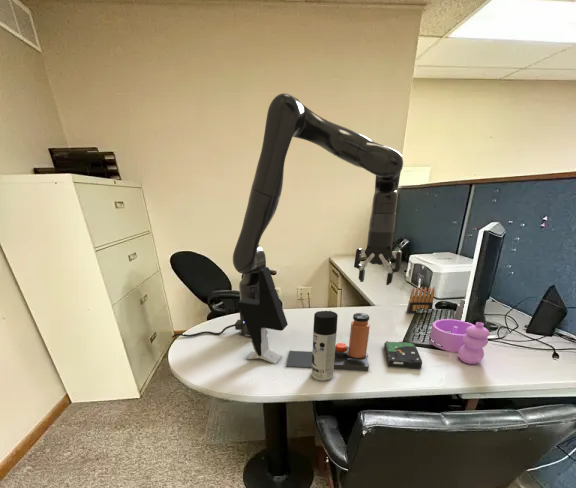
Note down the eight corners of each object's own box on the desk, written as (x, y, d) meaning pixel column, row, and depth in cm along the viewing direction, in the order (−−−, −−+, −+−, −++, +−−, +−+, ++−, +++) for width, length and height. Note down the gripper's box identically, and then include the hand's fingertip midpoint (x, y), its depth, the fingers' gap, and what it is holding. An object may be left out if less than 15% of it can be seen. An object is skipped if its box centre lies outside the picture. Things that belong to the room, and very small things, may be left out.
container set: (423, 334, 127) (430, 301, 120) (462, 334, 127) (472, 301, 120) (450, 366, 105) (460, 328, 99) (498, 366, 105) (511, 328, 98)
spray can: (310, 370, 103) (311, 310, 93) (331, 369, 104) (335, 309, 94) (313, 381, 97) (315, 318, 88) (335, 380, 98) (340, 317, 88)
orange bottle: (348, 357, 102) (352, 318, 96) (347, 349, 107) (351, 312, 101) (366, 358, 102) (371, 319, 95) (365, 350, 107) (369, 312, 100)
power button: (335, 352, 107) (335, 347, 107) (335, 347, 111) (335, 342, 110) (346, 352, 107) (347, 347, 106) (346, 347, 110) (346, 343, 109)
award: (288, 357, 111) (287, 268, 96) (283, 365, 107) (281, 272, 92) (247, 351, 115) (241, 264, 100) (241, 358, 111) (233, 268, 96)
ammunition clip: (429, 311, 149) (435, 285, 143) (431, 313, 148) (437, 287, 142) (406, 311, 149) (411, 285, 143) (407, 313, 148) (412, 287, 142)
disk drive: (421, 369, 103) (412, 348, 116) (423, 362, 102) (414, 341, 115) (388, 367, 105) (383, 347, 117) (389, 360, 103) (384, 340, 116)
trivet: (286, 367, 105) (286, 365, 105) (290, 351, 115) (290, 350, 115) (320, 368, 104) (320, 367, 104) (321, 353, 114) (321, 352, 113)
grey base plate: (323, 369, 104) (323, 359, 102) (324, 353, 114) (324, 344, 112) (368, 371, 103) (369, 361, 101) (364, 355, 112) (366, 345, 111)
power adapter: (468, 323, 136) (476, 295, 131) (455, 322, 137) (462, 295, 131) (466, 320, 139) (474, 293, 133) (453, 320, 140) (460, 292, 134)
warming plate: (346, 359, 102) (346, 358, 102) (345, 350, 108) (346, 349, 108) (368, 360, 101) (368, 359, 101) (366, 351, 107) (366, 349, 107)
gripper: (354, 229, 99) (350, 283, 107) (403, 232, 93) (394, 288, 101) (361, 227, 104) (357, 278, 112) (407, 229, 99) (399, 282, 107)
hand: (374, 283), depth 107 cm, fingers open, 8 cm apart
